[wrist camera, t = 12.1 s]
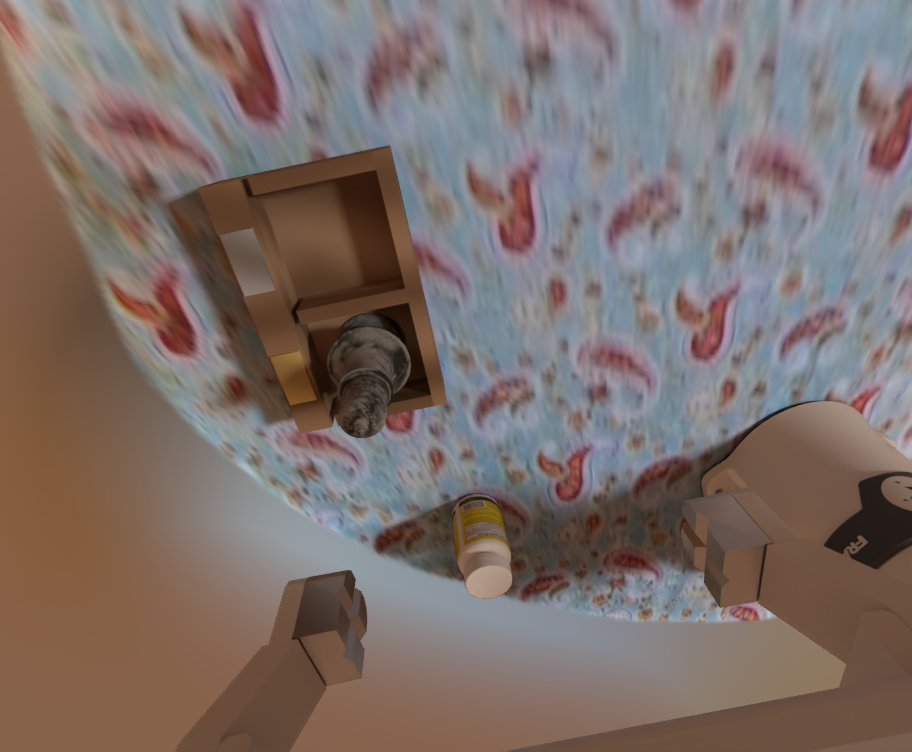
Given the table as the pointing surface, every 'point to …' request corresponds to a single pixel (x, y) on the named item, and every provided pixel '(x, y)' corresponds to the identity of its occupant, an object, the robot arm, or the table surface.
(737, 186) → the table surface
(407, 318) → the divided sorting tray
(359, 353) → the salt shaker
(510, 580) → the supplement bottle
